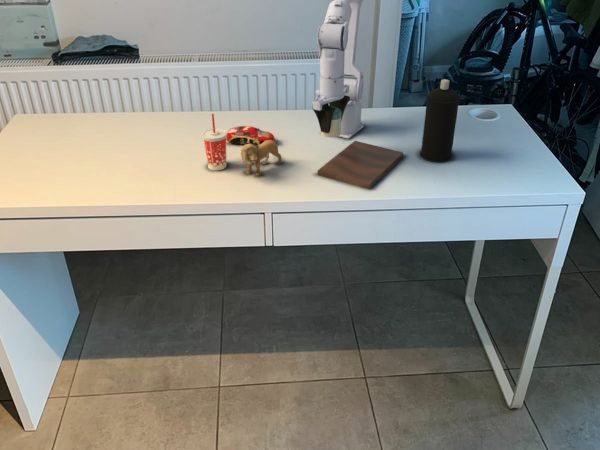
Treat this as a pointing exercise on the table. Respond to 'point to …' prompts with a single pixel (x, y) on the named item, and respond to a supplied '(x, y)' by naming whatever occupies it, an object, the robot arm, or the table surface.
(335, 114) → the cream jar
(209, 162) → the beverage cup
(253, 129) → the race car
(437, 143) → the aerosol can
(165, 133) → the table surface
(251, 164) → the lion figurine
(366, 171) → the walnut board
